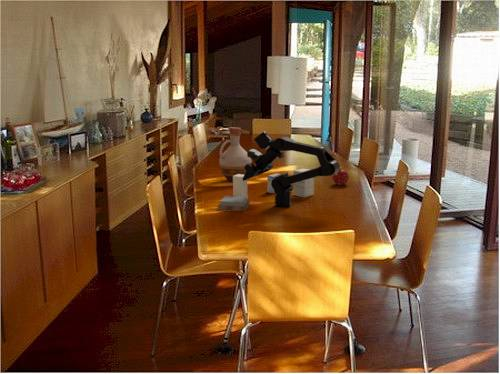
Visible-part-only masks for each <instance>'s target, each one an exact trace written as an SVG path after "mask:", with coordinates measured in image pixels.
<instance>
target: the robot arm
mask: <svg viewBox="0 0 500 374" xmlns="http://www.w3.org/2000/svg"><path fill="white" fill-rule="evenodd" d="M253 141H254V143H255V144H256V145H257V147H259V148H260V150H261V151H262V150H265V151H264V153H261V152H260V151H258V150H257V149H254V148H251V149H249V150H248V151H246V152H247V156H248V157H249V158H251V160H253V161H252V162H251V163H249V164H246V165H245V166H244V168H245V170H246V173H245V175H244V177H243V181H245V180H247V181H248V180H250V179H253V178H256V177H258V176H260V175H262V174H265V173H268V172H269V171H271V170H272V169H273V168H274V165H273V163H274V161H275V160H276V159H277V158H279V159H283V158H284V157H285V156H284V155H285V153H284V152H288V151H289V152H290V151H292V152H297V153H301V154H306V155H311V156H314V157H316V158H317V160H318V163H319V165H320V166H318V167H315V168H311V169H310V170H307V171H304V172H301V173H297V174H294V173H293V174H289V172H288V171H287V172H285V173H279V174H280V175H278V176H276V177H275V178H274V179H273V180H272V182H271V185H272V188H273V189H274V192H275V193H274V194H275V195H274V204H275V207H277V208H290V207H291V205H292V202H291V199H292V195H291V193H292V192H293V190H294V183H296V182H300V181H303V180H307V179H310V178H314V179H315V178H317V177H329V176H333V174H335V173H337V172H338V171H339V169H340V167H341V166H340V163H339V162H338V161H337V160H336V159H335V158H334V156H332V154H331V153H330V152H329V151H328V150H327V149H326V147H324V146H318V145H313V144H310V143H304V142H299V141H296V140H294V139H293V138H291V137H288V136H285V135H284V136H281V137H278V138H274V139H272V138H271V137H270V135H268V132H267V131H262V132H261V133H260V134H259V135H256V136H255V138H254V139H253ZM292 184H293V185H292Z"/></svg>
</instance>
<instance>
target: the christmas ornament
mask: <svg viewBox="0 0 500 374" xmlns="http://www.w3.org/2000/svg"><path fill="white" fill-rule="evenodd" d="M349 175H350V174H349V172H348V171H347V170H345V169H343V167H342V166H340V169H339V171H338V172H337V173H335V174H333V175H332V180H333V183H335V184H336V185H338V186H343V185H345V184H347V182H349V178H350V177H349Z"/></svg>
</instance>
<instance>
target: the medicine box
mask: <svg viewBox="0 0 500 374" xmlns="http://www.w3.org/2000/svg"><path fill="white" fill-rule="evenodd" d="M280 174H281V173H279V172H278V173H274V174H273V173H272V174H270V175H267V193H269V194H275V192H274V189H273V188H272V185H271V182H272V180H273V179H274V178H275V177H276V176H278V175H280Z"/></svg>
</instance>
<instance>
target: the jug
mask: <svg viewBox="0 0 500 374" xmlns="http://www.w3.org/2000/svg"><path fill="white" fill-rule="evenodd" d="M241 130H242V128H241V127H235V126H233V127H232V126H230V127H228V131H229V132H228V135H229V138H230V139H226V140H225V141H224V142H223V143H222V144H221V146H220V149H219V161H218V162H219V169H220V171H221V174H222V176H224V178H225V179H226V180H227V181H228V183H232V184H233V176H234V175H237V174H243V175H245V173H246V170H245V168H244V166H245V165H246V164H249V163H253V161H252V159H251V158H249V157H248V156H247V152H248V151H246V150H245V149H244V148H243V147H242V146H241V144H240V137H241ZM229 143H230V145H229V146H228V147H227V149H226V150H225V151H224V152H223V150H224V148H225V146H226V145H227V144H229Z"/></svg>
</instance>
